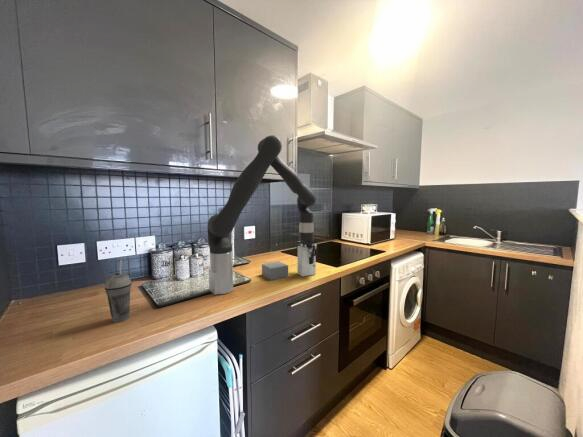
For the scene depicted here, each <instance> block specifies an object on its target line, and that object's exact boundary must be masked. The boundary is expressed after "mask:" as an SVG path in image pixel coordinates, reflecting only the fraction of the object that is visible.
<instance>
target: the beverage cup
mask: <svg viewBox="0 0 583 437" xmlns="http://www.w3.org/2000/svg"><path fill="white" fill-rule="evenodd" d="M122 263H123V259H120V260H119V271H118V272H117V273H114V274H112V275H110V276H109V277H108V278H107V279H106V281H105V285H104V290H105V293H106V296H107V301H108V306H109V313H110V317H111V320H112V322H113V323H122V322H124V321H127V320H129V318H130V308H131V307H130V304H131V289H132V284H133V283H132V281H131V278H130V277H129V275H128V274H126V273H123V272H122V265H123V264H122Z"/></svg>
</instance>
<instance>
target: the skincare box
mask: <svg viewBox="0 0 583 437" xmlns="http://www.w3.org/2000/svg"><path fill="white" fill-rule="evenodd" d="M311 250H312V248H311V249H309V251H311ZM311 254H312V252H311ZM314 254H315V252H314ZM309 257H310V256H309V253H307V248H306V247H304V246H303V247H302V246H298V253H297V265H296V266H297V270H296V272H297V274H298V275H299V276H301V277H307V276H315V275H316V272H317V271H316V268H317V267H316V265H317V264H316V263H317V262H316V261H317V259H316V257H317V256H314V263H313V264H309Z"/></svg>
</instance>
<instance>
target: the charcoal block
mask: <svg viewBox="0 0 583 437" xmlns="http://www.w3.org/2000/svg"><path fill="white" fill-rule="evenodd" d="M261 275H262V276H263V277H265V278H267V280H268V279H269V280H270V281H276V280H278V279H283V278H288V277H289V264H286V263H284V262H281V261H277V260H276V261H272V262H266V263H262V264H261Z"/></svg>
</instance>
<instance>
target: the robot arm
mask: <svg viewBox="0 0 583 437" xmlns="http://www.w3.org/2000/svg"><path fill="white" fill-rule="evenodd" d="M282 145H283V144H282V141H281V138H279V137H278V136H277V135H267V136H266V137H264V138H262V139H261V140H260V141H259V142H258V143H257V154H256V156H255V157H254V158H253V159H252V161H251V162H250V163H249V164H247V166H246V167H245V168H244V169H243V171H242V172H241V173H240V175H239V176H238V177H237V179H236V180H235V181H234V184H233V186H232V188H231V190H230V194H229V197H228V200H227V202H226V203H225V205H224V206H223V208H222V209H221V210H220V211H219V213H217V214H213V215H212V216H211V217H210V218H209V219H208V221H207V242H208V248H209V264H210V266H209V269H208V281H209V284H208V285H209V292H210V291H211V292H210V293H212V294H213V295H214V296H216V295H225V294H228V293H229V294H230V293H232V292H233V291H234V269H233V268H234V266H233V265H234V264H233V263H234V262H233V245H232V242H231V239H230V235H231V233H232V231H233V230H234V228H235V226H236V224H237V222H238V220H239V217H240V216H241V213H242V211H243V210H244V209H245V207H246V206H247V204H248V203H249V201H250V199H251V198H252V197H253V195H254V193H255V192H256V190H257V188H258V187H259V186H260V183H261V181H262V180H263V178H264V177H265V175H266V173H267V171H268V169H269V168H270V167H272V168H273V169H274V171H275V172H276V173H277V174H278V175H279V176H280V177H281V179H282V180H283V181H284V183H285V184H286V185H287V187H288V188H289V190H290V191H291V192H292V193H293V194H296V195H297V198H296V204H297V208H298V214H299V226H298V232H299V233H298V235H299V236H298V237H299V241H296V243H295V244H296V245H295V246H296V247H295V248H296V253H297V254H298V246H302V247H303V246H304V247H306V248H307V253H309V256H310V257H309V264H313V263H314V256H316V257H317V256H318V247H319V245H318V244H315V243H313V241H314V239H315V238H314V237H315V236H314V234H315V233H314V232H315V229H314V212H313V211H311V209H310V207H312V206H314V205H315V204H316V196H315V195H316V194H315V193H314V192H313V191H312V190H311V189H310V188H309V187H308V186H307V185H306V184H305V183H304V182H303V181H302V178H300V176H299V174H298V173H296V171H295V170H294V169H293V168H291V167H290V166H288V164H286V163H285V162H284V160H283V159H282V158H281V157H280V156H279V154H280V153H281V151H282V148H283V146H282ZM311 248H312V250H311V251H309V249H311ZM311 252H312V254H311ZM314 252H315V254H314Z"/></svg>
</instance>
